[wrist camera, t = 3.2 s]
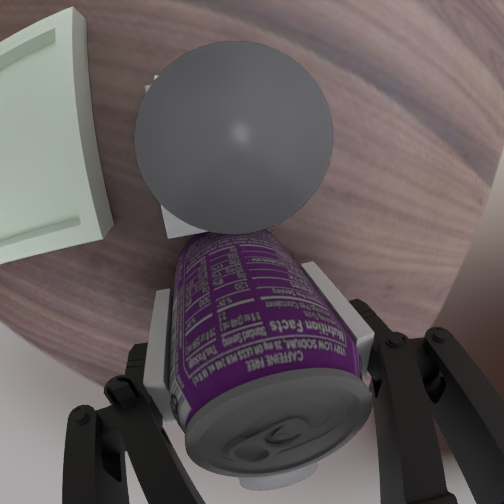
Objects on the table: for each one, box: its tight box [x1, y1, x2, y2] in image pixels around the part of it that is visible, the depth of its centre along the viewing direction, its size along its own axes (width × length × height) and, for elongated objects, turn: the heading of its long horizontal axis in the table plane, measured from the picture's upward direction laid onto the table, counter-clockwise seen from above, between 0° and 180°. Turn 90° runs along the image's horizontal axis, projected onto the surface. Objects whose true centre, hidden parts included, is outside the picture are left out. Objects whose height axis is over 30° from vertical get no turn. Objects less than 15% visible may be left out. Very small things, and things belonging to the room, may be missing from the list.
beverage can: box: [169, 229, 373, 477], centre depth 13 cm, size 7×7×12 cm
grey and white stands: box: [134, 41, 333, 491], centre depth 14 cm, size 24×6×10 cm, turn 7°
